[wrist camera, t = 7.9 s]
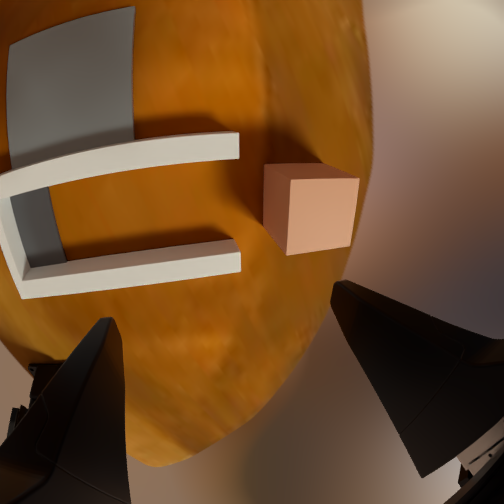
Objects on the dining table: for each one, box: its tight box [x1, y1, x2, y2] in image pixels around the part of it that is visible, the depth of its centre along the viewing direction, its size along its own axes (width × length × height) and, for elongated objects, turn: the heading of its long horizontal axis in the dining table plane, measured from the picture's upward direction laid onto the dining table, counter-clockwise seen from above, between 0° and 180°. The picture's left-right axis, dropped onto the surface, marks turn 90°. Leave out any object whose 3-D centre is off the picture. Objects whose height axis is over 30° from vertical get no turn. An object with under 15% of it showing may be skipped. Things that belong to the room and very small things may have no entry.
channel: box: [0, 131, 241, 299], centre depth 15 cm, size 9×17×2 cm, turn 90°
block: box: [263, 163, 360, 255], centre depth 17 cm, size 4×4×4 cm
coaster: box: [6, 6, 136, 170], centre depth 11 cm, size 9×9×1 cm
